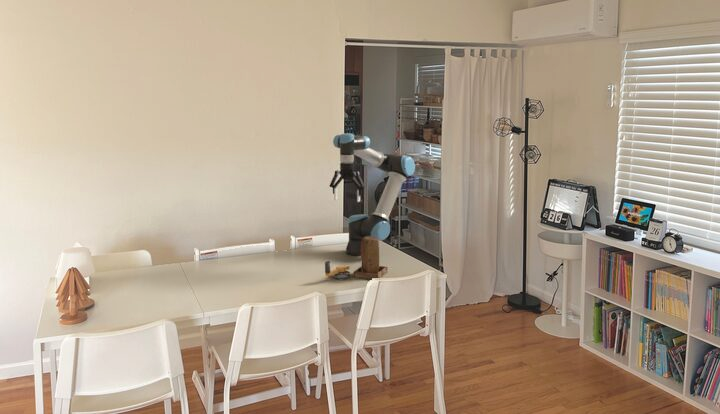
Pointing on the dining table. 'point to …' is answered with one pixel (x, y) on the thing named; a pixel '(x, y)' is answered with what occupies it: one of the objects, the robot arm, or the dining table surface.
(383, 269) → the tray
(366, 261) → the block
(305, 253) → the dining table surface
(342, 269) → the crank
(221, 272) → the dining table surface
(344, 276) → the crank base
